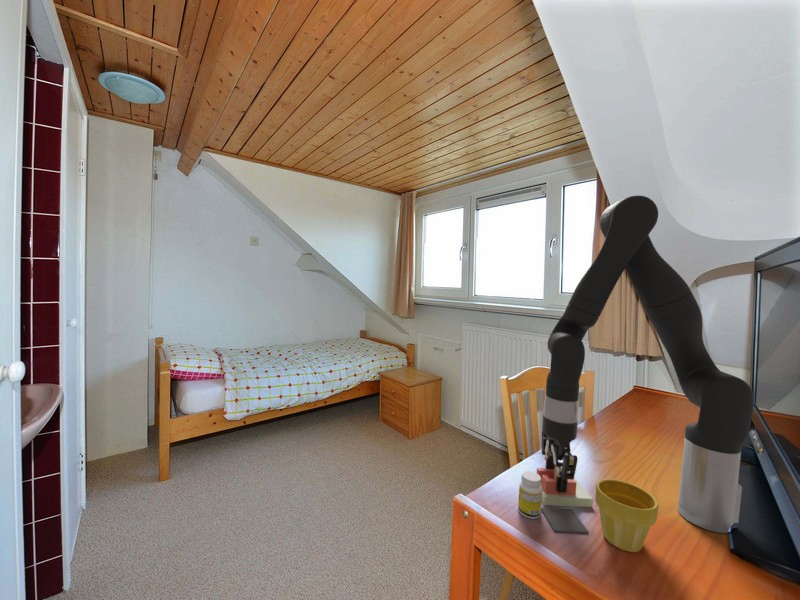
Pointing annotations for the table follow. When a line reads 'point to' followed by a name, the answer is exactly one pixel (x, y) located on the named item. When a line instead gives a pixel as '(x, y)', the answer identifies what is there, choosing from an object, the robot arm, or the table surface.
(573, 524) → the coaster
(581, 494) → the stand
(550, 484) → the c link
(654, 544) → the table surface
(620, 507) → the plant pot
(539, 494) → the supplement bottle
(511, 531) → the table surface
